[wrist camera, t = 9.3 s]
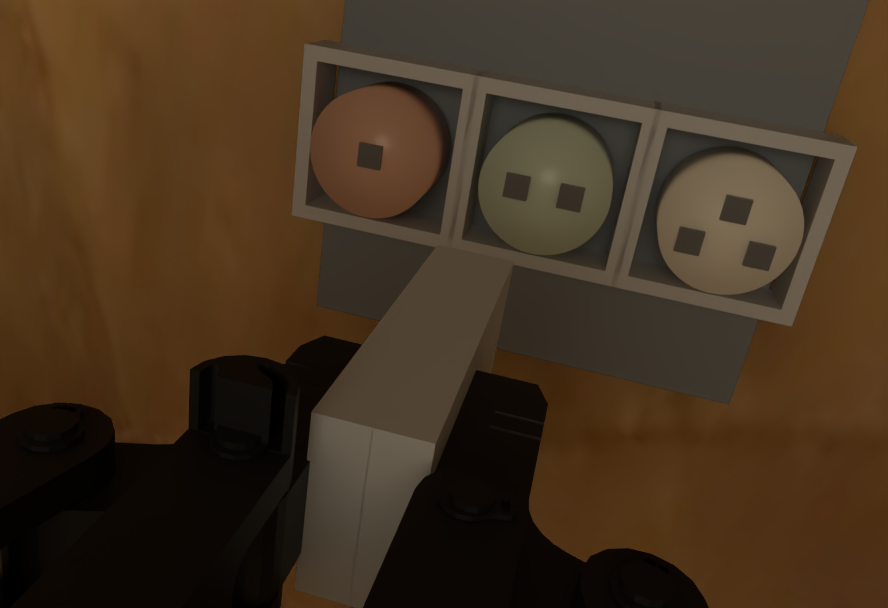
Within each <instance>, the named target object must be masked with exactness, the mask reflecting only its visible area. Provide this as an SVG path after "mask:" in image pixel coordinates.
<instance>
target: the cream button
mask: <svg viewBox="0 0 888 608" xmlns="http://www.w3.org/2000/svg"><path fill="white" fill-rule="evenodd" d="M656 222H657V234H658V243H659V247H660V251H661V253H662V256H663V258H664V260H665V262H666V264H667V265H668V267H669V268H670V269H671V271H672V272H673V273H674V274H675V275H676V276H677V277H678V278H679V279H681V280H682V281H683V282H685V283H686V284H688V285H690V286H691V287H693V288H696V289H698V290H701V291H704V292H707V293H712V294H719V295H732V294H740V293H746V292H749V291H752V290H755V289H758V288H760V287H762V286H764V285H766V284H768V283H769V282H771V281H773V280H774V279H775V278H776V277H778V276H779V275H780V274H781V273H782V272H783V271H784V270H785V269H786V268H787V267H788V266H789V265H790V263H791V262H792V261H793V259H794V257H795V256H796V254H797V252H798V250H799V247H800V245H801V242H802V238H803V232H804V215H803V209H802V206H801V203H800V200H799V198H798V196H797V194H796V193H795V191H794V190H793V188H792V187H791V185H790V184H789V183H788V182H787V180H786V179H785V178H784V177H783V175H782V174H781V173H780V172H779V170H778V169H777V168H776V167H775V166H774V165H773V164H772V163H771V162H770V161H769V160H767V159H766V158H765V157H763V156H761V155H760V154H758V153H756V152H753V151H751V150H748V149H744V148H739V147H715V148H710V149H706V150H703V151H701V152H698V153H696V154H694V155H692V156H690V157H688V158H687V159H685V160H684V161H683V162H681V163H680V164H679V165H678V166H677V167H676V168H674V170H673V171H672V172H671V173H670V174H669V176H668V177H667V179H666V180H665V181H664V183H663V185H662V187H661V189H660V192H659V195H658V199H657V204H656Z"/></svg>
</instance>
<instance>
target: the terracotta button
mask: <svg viewBox="0 0 888 608" xmlns="http://www.w3.org/2000/svg"><path fill="white" fill-rule="evenodd" d="M449 150H450V139H449V133H448V128H447V125H446V122H445V120H444V118H443V115H442V114H441V112H440V110H439V109H438V107H437V106H436V105H435V103H434V102H433V101H432V100H431V99H430V98H429V97H428V96H427V95H425V94H424V93H423V92H421V91H420V90H418V89H416V88H415V87H412V86H410V85H407V84H404V83H400V82H393V81H384V82H378V83H374V84H371V85H368V86H365V87H362V88H359V89H356V90H353V91H351V92H348V93H345V94H343V95H341V96H339V97H337V98H336V99H335V100H333V101H332V102H331V103H330V104H328V105H327V106H326V107H325V109H324V110H323V111H322V112H321V114H320V115H319V117H318V119H317V121H316V123H315V125H314V128H313V132H312V135H311V142H310V155H311V162H312V166H313V170H314V173H315V175H316V178H317V180H318V182H319V184H320V185H321V187H322V188H323V190H324V191H325V192H326V194H327V195H328V196H329V197H330V198H331V199H332V200H333V201H334V202H335V203H336V204H338V205H339V206H340V207H342V208H343V209H345V210H347V211H349V212H351V213H353V214H355V215H359V216H362V217H367V218H387V217H391V216H395V215H397V214H400V213H402V212H404V211H405V210H407V209H409V208H410V207H411V206H413V205H414V204H415V203H416V202H417V201H418V200H419V199H420V198H421V197H422V196H423V195H424V194H425V193H427V192H428V191H429V190H430V189H431V188H432V187H433V186H434V185H435V184H436V183H437V181H438V180H439V178H440V177H441V176H442V174H443V172H444V170H445V167H446V165H447V162H448V157H449Z"/></svg>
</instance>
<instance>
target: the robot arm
mask: <svg viewBox="0 0 888 608" xmlns="http://www.w3.org/2000/svg"><path fill="white" fill-rule="evenodd" d="M513 264H514V261H510V260H505V259H501V258H496V257H492V256H487V255H483V254H478V253H474V252H469V251H464V250H460V249H455V248H451V247H446V246H442V245H437V247H436V248H435V249H434V251H433V252H432V253H431V255H430V256H429V257H428V258H427V260H426V261H425V262H424V264H423V265H422V266H421V268H420V269H419V270H418V272H417V273H416V274H415V276H414V277H413V278H412V280H411V281H410V282H409V284H408V285H407V286H406V288H405V289H404V290H403V292H402V293H401V294H400V296H399V297H398V298H397V300H396V301H395V302H394V303H393V305H392V306H391V307H390V309H389V310H388V311H387V313H386V314H385V315H384V317H383V318H382V319H381V321H380V322H379V323H378V325H377V326H376V327H375V329H374V330H373V331H372V333H371V334H370V335H369V337H368V338H367V339H366V341H365V342H364V343H363V344H362V345H361V344H357V343H353V342H349V341H345V340H341V339H337V338H332V337H328V336H322V337H320V338H317V339H315V340H313V341H310V342H308V343H306V344H303V345H301V346H300V347H299V348H298V349H297V350H296V351H295V352H294V353H293V354H292V355H291V356H290V357H289V358H288V359H287V361H286V364H281V363H278V362H275V361H273V360H270V359H267V358H262V357H255V356H248V355H238V356H223V357H219V358H215V359H211V360H207V361H204V362H202V363H200V364H198V365H197V366H195V367H193V368H191V369H190V394H189V429H188V430H187V431H186V432H185V433H184V434H183V435H182V436H181V437H180V438H179V439H178V440H177V441H176V442H175V443H174V444H161V445H155V444H135V443H116V442H115V430H114V427H113V424H112V420H111V418H109V417H108V416H107V415H105V414H104V413H103V412H102V411H100V410H99V409H95V408H92V407H89V406H85V405H82V404H72V403H53V404H46V405H39V406H33V407H30V408H27V409H24V410H21V411H18V412H15V413H13V414H10V415H8V416H6V417H4V418H2V419H0V608H280V607H281V597H282V586H283V583H284V581H285V579H286V578H287V576H288V574H289V572H290V571H291V569H292V567H293V566H294V564H295V562H296V561H297V566H296V576H295V586H294V590H297V591H300V592H304V593H307V594H310V595H314V596H317V597H321V598H324V599H327V600H331V601H334V602H338V603H341V604H344V605H348V606H351V607H355V608H709V607H708V605H707V603H706V600H705V599H704V597H703V596H702V594H701V592H700V591H699V589H698V588H697V586H696V585H695V583H694V582H693V581H692V580H691V579H690V578H689V577H687V576H686V575H685V574H684V573H683V572H682V571H680V570H679V569H678V568H677V567H676V566H674V565H673V564H671V563H669V562H667V561H665V560H663V559H661V558H659V557H657V556H655V555H653V554H650V553H645V552H641V551H637V550H633V549H629V548H625V549H606V550H604V551H601V552H599V553H597V554H594V555H592V556H590V558H589V559H588V560H587V562H586V563H585V562H583V561H581V560H580V559H578V558H576V557H574V556H572V555H570V554H568V553H567V552H565V551H563V550H562V549H560V548H559V547H557V546H556V545H554V544H553V543H552V542H551V541H549V540H548V539H547V538H546V537H545V536H544V535H543V534H542V533H541V532H540V531H539V529H538V528H537V526H536V525H535V524H534V522H533V520H532V517H531V515H530V512H529V496H530V491H531V486H532V481H533V476H534V471H535V466H536V461H537V456H538V451H539V446H540V441H541V436H542V431H543V426H544V421H545V416H546V411H547V406H548V403H547V402H546V400H545V398H544V396H543V394H542V392H541V390H540V388H539V386H538V385H536V384H532V383H528V382H524V381H520V380H515V379H511V378H507V377H503V376H499V375H495V374H491V373H492V368H493V363H494V358H495V353H496V348H497V344H498V339H499V334H500V329H501V324H502V319H503V314H504V309H505V304H506V299H507V294H508V289H509V284H510V279H511V274H512V269H513Z"/></svg>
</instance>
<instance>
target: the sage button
mask: <svg viewBox="0 0 888 608" xmlns="http://www.w3.org/2000/svg"><path fill="white" fill-rule="evenodd" d="M613 183H614V165H613V160H612V156H611V153H610V151H609V148H608V146H607V144H606V143H605V141H604V139H603V138H602V137H601V135H600V134H599V133H598V132H597V131H596V130H595V129H594V128H593V127H591V126H590V125H589V124H588V123H586V122H584V121H582V120H581V119H579V118H576V117H574V116H571V115H567V114H561V113H544V114H538V115H535V116H531V117H529V118H527V119H524V120H523V121H521V122H519V123H518V124H516V125H515V126H514V127H512V128H511V129H510V130H509V131H508V132H507V133H506V134H505V135H504V136H503V137H502V139H501V140H500V141H499V142H498V143H497V144H496V145H495V146H494V147H493V149H492V150H491V151H490V153H489V154H488V156H487V158H486V159H485V161H484V163H483V166H482V169H481V172H480V176H479V183H478V196H479V202H480V206H481V210H482V212H483V215H484V217H485V219H486V221H487V223H488V224H489V226H490V227H491V228H492V230H493V231H494V232H495V233H496V234H497V235H498V236H499V237H500V238H501V239H502V240H503V241H505V242H506V243H507V244H509V245H511V246H512V247H514V248H516V249H518V250H521V251H523V252H527V253H530V254H536V255H556V254H560V253H565V252H568V251H570V250H573V249H575V248H577V247H579V246H581V245H582V244H583V243H585V242H586V241H588V240H589V239H590V238H591V237H592V236H593V235H594V234H595V233H596V232H597V231H598V229H599V228H600V227H601V225H602V224H603V222H604V220H605V218H606V216H607V214H608V211H609V208H610V204H611V198H612V191H613Z"/></svg>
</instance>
